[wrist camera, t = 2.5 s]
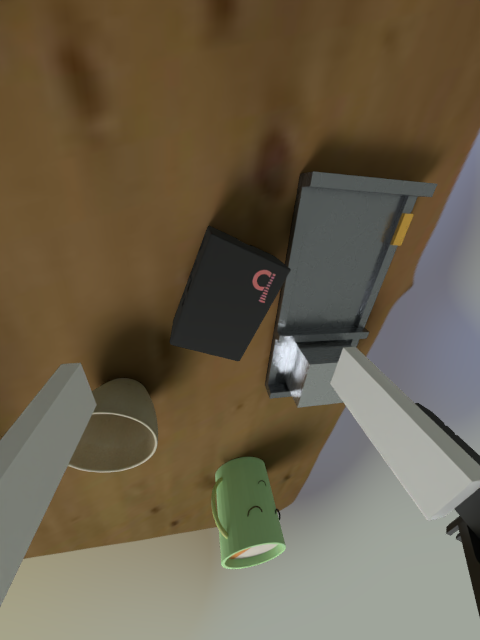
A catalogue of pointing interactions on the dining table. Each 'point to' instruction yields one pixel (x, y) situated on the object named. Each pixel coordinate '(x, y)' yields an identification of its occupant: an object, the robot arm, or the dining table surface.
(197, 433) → the dining table surface
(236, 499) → the mug
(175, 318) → the electronic device
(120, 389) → the flower pot
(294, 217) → the dark gray tray
